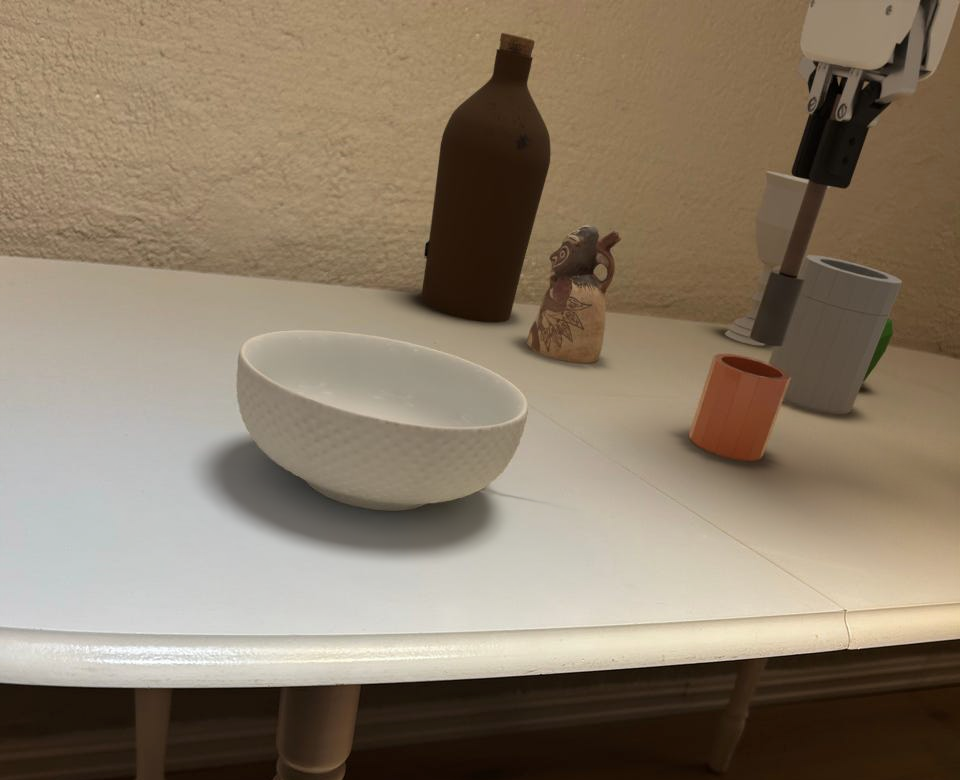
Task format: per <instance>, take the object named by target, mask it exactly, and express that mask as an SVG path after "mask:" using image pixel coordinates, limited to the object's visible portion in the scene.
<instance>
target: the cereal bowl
mask: <svg viewBox="0 0 960 780" xmlns="http://www.w3.org/2000/svg"><path fill="white" fill-rule="evenodd" d="M237 357H238V358H237V368H236V398H237V403H238V410H239V414H240V415H241V420H242V422H243V424H244V426H245V429H246V430H247V432H248V433H249V435H250V437H251V439H252V440H253V441H254V442H255V443H256V445H257V447H258V448H259V449H260V450H262V452H263V453H264V454H265V455H266V456H268V458H270V459H271V460H272V461H274V463H276V464H277V465H278V466H280V467H282V469H284V470H285V471H288V472H290V473H292V475H294V476H297V477H299V478H300V479H301V480H304V481H305V482H306V484H307V485H308V486H309V487H310V488H312V489H313V490H315V491H316V492H317V493H319V494H321V495H323V496H325V497H327V498H329V499H331V500H334V501H336V502H339V503H342V504H346V505H349V506H352V507H357V508H362V509H369V510H375V511H392V512H394V511H397V512H398V511H408V510H414V509H418V508H421V507H423V506H425V505H428V504H436V503H444V502H451V501H454V500H457V499H463V498H465V497H467V496H470V495H473V494H474V493H476V492H479V491H481V490H482V489H484V488H486V487H488V486H489V485H490V484H491V483H492V482H494V481H496V480H497V479H498V477H499V476H501V474H503V473H504V471H505V470H506V469H507V467H508V466H509V464H510V463H511V461H512V459H513V458H514V455H515V454H516V451H517V449H518V447H519V446H520V444H521V438H522V437H523V433H524V431H525V429H524V428H525V427H526V424H527V419H528V415H529V404H528V403H529V402H528V400H527V398H526V396H525V395H524V393H522V391H521V390H520V389H519V388H518V387H517V386H515V385H514V384H513V383H512V382H510V381H509V380H507V379H506V378H504V377H503V376H501V375H499V374H497V373H496V372H494V371H493V370H491V369H488V368H486V367H484V366H482V365H480V364H478V363H475V362H472V361H469V360H467V359H465V358H462V357H460V356H456V355H453V354H452V353H451V354H450V353H447V352H444V351H441V350H438V349H435V348H432V347H427V346H424V345H420V344H415V343H412V342H408V341H403V340H398V339H392V338H389V337H382V336H377V335H370V334H362V333H355V332H345V331H334V330H332V331H331V330H315V329H311V330H309V329H308V330H307V329H305V330H303V329H301V330H299V329H298V330H297V329H296V330H294V329H293V330H279V331H272V332H265V333H261V334H258V335H255V336H253V337H250V338H248V339H247V340H245V342H244V343H242V345H241V346H240V349H239V351H238V356H237Z"/></svg>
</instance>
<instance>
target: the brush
mask: <svg viewBox="0 0 960 780" xmlns="http://www.w3.org/2000/svg"><path fill="white" fill-rule="evenodd" d="M841 96H842V94H837V96H836V99H835V102H834V105H833V108H832V111H831V114H830V117H829V119H832V120H836V121H837V119H836V110H837V107H838V104H839V102H840V99H841ZM827 187H828V186H827V185H821V184H816V183H813V182H811V181H810V180H809V181H808V184H807V188H806V191H805V194H804V197H803V200H802V203H801V206H800V209H799V212H798V215H797V218H796V221H795V224H794V227H793V231H792V234H791V237H790V240H789V243H788V246H787V249H786V252H785V255H784V258H783V261H782V264H781V266H779V267H780V268H779V269H773V270H771V272H770V275H769V278H768V281H767V284H766V287H765V290H764V293H763V297H762V300H761V303H760V306H759V309H758V312H757V315H756V318H755V321H754V325H753V328H752V331H751V334H750V338H751V339H753V340H755V341H757V342H760V343H763V344H765V346H766V345H767V346H770V347H771V346H772V347H774V346H782V345H783V344H784V341H785V338H786V335H787V332H788V329H789V326H790V323H791V320H792V317H793V314H794V311H795V308H796V306H797V303H798V300H799V297H800V294H801V291H802V288H803V285H804V282H805V278H803V277H802V276H799V274H800V271H801V268H802V266H803V263H804V260H805V257H806V253H807V250H808V247H809V244H810V241H811V239H812V234H813V232H814V229H815V226H816V223H817V220H818V217H819V215H820V211H821V208H822V205H823V203H824V200H825V196H826V193H827V192H826V190H827Z"/></svg>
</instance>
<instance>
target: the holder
mask: <svg viewBox="0 0 960 780" xmlns="http://www.w3.org/2000/svg"><path fill="white" fill-rule="evenodd" d="M768 363H769V362H766V361H763V360H760V359H757V358H753V357H748V356H745V355H739V354H734V353H733V354H732V353H717V354H715V355H713V356H712V360H711V363H710V366H709V370H708V373H707V376H706V378H705V383H704V385H703V388H702V392H701V395H700V398H699V401H698V404H697V406H696V410H695V413H694V416H693V419H692V422H691V425H690V429H689V432H688V438H689V440H690V441H691V442H692V443H693V444H694V445H696V447H699V448H700V449H702V450H704V451H706V452H709V453H711V454H714V455H717V456H720V457H723V458H726V459H731V460H736V461H745V462H755V461H759V460H760V459H762V457H763V456H764V455H765V451H766V448H767V446H768V443H769V440H770V437H771V435H772V432H773V429H774V426H775V423H776V421H777V418H778V416H779V413H780V410H781V407H782V404H783V399H784V396H785V393H786V391H787V388H788V385H789V382H790V379H791V377H790V375H789V374H788V373H787V372H786V371H784V370H782V369H780V368H778V367H776V366H774V365H771V364H768Z"/></svg>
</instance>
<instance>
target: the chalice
mask: <svg viewBox="0 0 960 780" xmlns="http://www.w3.org/2000/svg"><path fill="white" fill-rule="evenodd" d="M765 178H766V184H765V188H764V190H763V193H762V197H761V201H760V203H759V206H758V210H757V213H756V216H755V242H756V250H757V258H758V260H759V261H760V262H761V263H762V264H763V271H762V272H761V274H760V276H759V278H758V279H757V280H756V284H757V285H756V291H755V292H754V294H753V295H751V296H750V300H751V305H750V309H749V311H748V313H747V314H745V316H744V317H738V318H737V319H735V320H734V321H733V322H734V323H732V324H731V325H730V327H729V328H728V330H727V331H726V332H724V334H725V336H726V337H728V338H730V339H732V340H735V341H737V342H740V343H744V344H748V345H751V346H752V345H753V346H759V347H760V346H766V344H763V343H760V342H757V341H755V340H753V339H751V338H750V334H751V331H752V328H753V325H754V321H755V318H756V315H757V312H758V309H759V306H760V303H761V300H762V297H763V293H764V290H765V287H766V284H767V281H768V278H769V275H770V272H771V270H775V267H781V264H782V261H783V258H784V255H785V252H786V249H787V246H788V243H789V240H790V237H791V234H792V231H793V227H794V224H795V221H796V218H797V215H798V212H799V209H800V206H801V203H802V200H803V197H804V194H805V191H806V188H807V184H808V181H809V180H808V179H803V178H798V177H795V176H793V175H789V174H784V173H781V172H775V171H769V170H765ZM831 187H832V186H828V187H827V190H826V193H827V192H828V191H829V190H830V189H831Z"/></svg>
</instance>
